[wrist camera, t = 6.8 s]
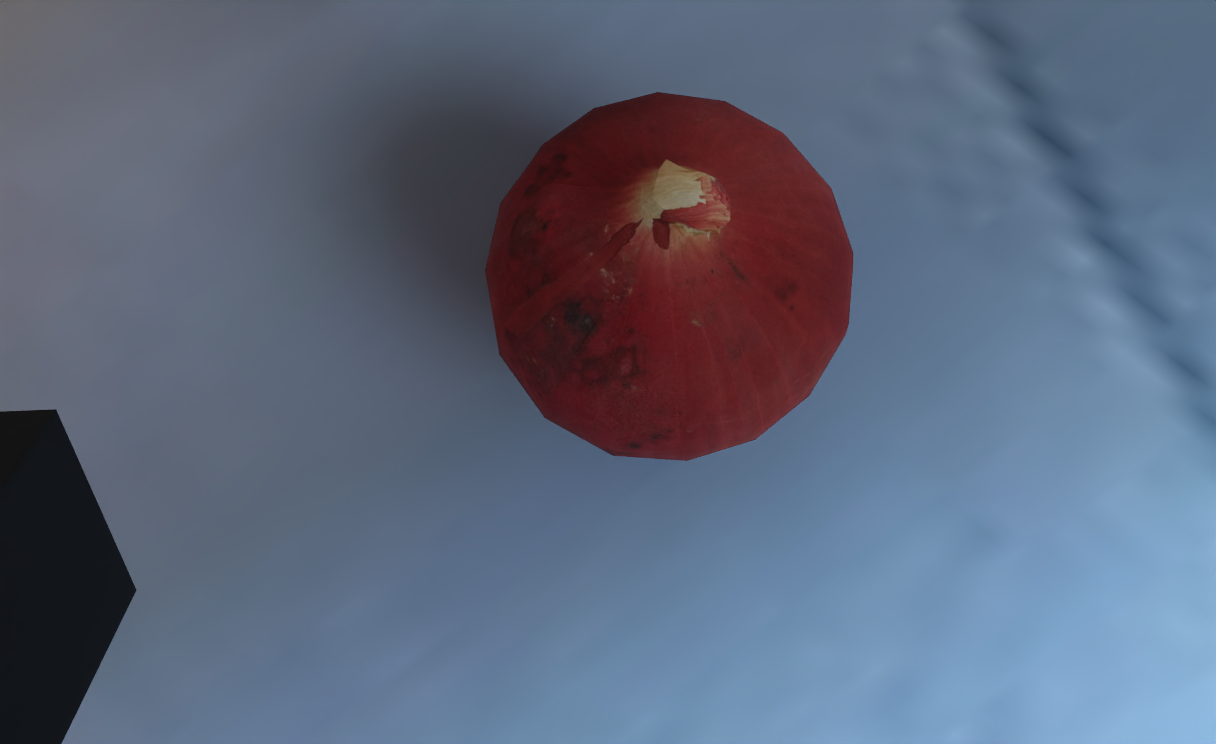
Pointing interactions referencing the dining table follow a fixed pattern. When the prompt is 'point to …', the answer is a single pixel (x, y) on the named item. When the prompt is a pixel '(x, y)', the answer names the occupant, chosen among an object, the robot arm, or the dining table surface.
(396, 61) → the dining table surface
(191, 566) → the dining table surface
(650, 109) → the onion
